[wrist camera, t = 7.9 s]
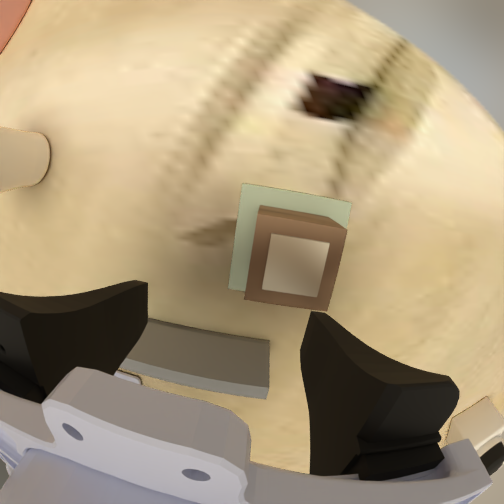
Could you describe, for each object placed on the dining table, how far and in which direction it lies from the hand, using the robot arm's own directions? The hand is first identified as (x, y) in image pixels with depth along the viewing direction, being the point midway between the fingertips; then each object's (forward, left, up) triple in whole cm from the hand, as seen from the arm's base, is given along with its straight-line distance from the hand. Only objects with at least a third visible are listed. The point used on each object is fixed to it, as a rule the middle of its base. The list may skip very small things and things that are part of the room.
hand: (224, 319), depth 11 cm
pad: (+1, -3, -10) cm, 10 cm away
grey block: (-9, +4, -10) cm, 14 cm away
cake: (+29, +43, -10) cm, 53 cm away
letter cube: (+2, -3, -9) cm, 10 cm away
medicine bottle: (-21, -37, -10) cm, 44 cm away
